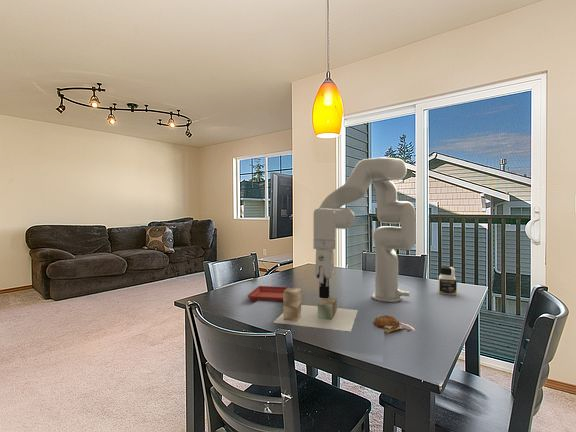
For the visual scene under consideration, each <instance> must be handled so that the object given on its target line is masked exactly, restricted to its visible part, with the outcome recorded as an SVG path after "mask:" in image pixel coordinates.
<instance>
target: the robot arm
mask: <svg viewBox="0 0 576 432" xmlns="http://www.w3.org/2000/svg"><path fill="white" fill-rule="evenodd" d="M407 168H408V167H407V164H406V162H405V161H404V160H403V159H401V158H397V157H396V158H395V157H373V158H366V159H361V160H360V161H358V162H357V164H355V167H354V169H352V171H351V174H350V175H348V177H347V180H346V181H345V183H344V184H343V185H342V186H341V185H340V186H339V187H338V188H337V189H335V190H333V192H331V193H330V194H328V195H327V196H326V197H325V199H324V200H323V201H322V202H321V203H320V206H319V207H318V208H316V209H314V211H313V238H312V241H313V244H312V245H313V247H312V248H313V249H314V250H315V278H316V279H318V282H319V283H318V285H319V287H318V295H319V296H318V297H319V298H320V299H322V298H329V297H330V279H332V278H333V277H334V275H335V255H334V254H335V253H334V250H336V244H337V243H336V237H337V236H336V234H337V233H336V231H337V230H338V229H339V230H340V229H341V230H347V229H349V228H351V227H352V226H354V224H355V221H356V216H355V213H354V211H353V210H351V209H350V208H348V207H343V206H345V205H348V204H350V203H354V202H356V201H358V200H360V199H362V198H363V197H364V196H365V195H366V193H367V191H368V189H369V188H370V185H371V183H372V185H373V187H374V189H375V192H376V218H377V220H378V221H379V222H380V223H383V224H395V225H396V224H398V225H400V226H389V225H385V226H384V225H383V226H378V227H376V229H375V230H374V231H373V235H372V237H373V243H374V250H375V283H374V288H375V291H374V292H373V293H372V294H371V299H373V300H375V301H378V302H383V303H384V302H385V303H398V302H400V301H402V300H403V299H402V297H410V291H406V290H400V287H399V258H398V254H397V252H396V251H395V250H405V251H410V250H412V249H413V248H414V247H415V245H416V239H417V237H416V235H417V234H416V233H417V231H416V229H417V227H416V226H417V223H416V221H417V219H416V217H417V216H416V209H415V206H414V204H413V203H412V202H410V201H407V200H398V190H397V187H396V185H395V183H394V182H393V181H400V180H403V179H404V178H405V176H406V175H407V171H408V169H407ZM336 229H337V230H336Z"/></svg>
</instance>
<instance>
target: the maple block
mask: <svg viewBox="0 0 576 432" xmlns="http://www.w3.org/2000/svg"><path fill="white" fill-rule="evenodd" d="M282 302H283V303H282V305H283V309H282V310H283V312H282V313H283V320H289V321H298V320H299V319H300V318H301V305H302V288H297V287H291V288H287V289H286V290H284V291H283V301H282Z"/></svg>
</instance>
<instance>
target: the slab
mask: <svg viewBox="0 0 576 432" xmlns="http://www.w3.org/2000/svg"><path fill="white" fill-rule="evenodd" d="M358 311H359V310H358V309H349V308H341V307H340V308H339V307H337V311H336V313H335V315H334V317H333V319H332V320H328V319H319V318H318V305H306V304H301V318H300V319H299V320H298V321H289V320H283V312H282V313H281V314H280V315H279V316H278V317H277V318H276V319H275V320H274V321H273V322H272V324H274V323H275V324H282V325H290V326H299V327H309V328H315V329H324V330H325V329H326V330H334V331H342V332H343V331H345V332H352V329H353V326H354V323H355V320H356V317H357V315H358Z"/></svg>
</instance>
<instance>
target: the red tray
mask: <svg viewBox="0 0 576 432" xmlns="http://www.w3.org/2000/svg"><path fill="white" fill-rule="evenodd" d="M287 288H292V287H289V286H288V287H287V286H267V285H266V286H265V285H259V286H257V287H255V289H253V290H252V291H251V292H249V293H248V294H247V298H248V299H250V301H252V302H254V303H255V302H258V301H273V302H274V301H275V302H283V291H284V290H286V289H287Z"/></svg>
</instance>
